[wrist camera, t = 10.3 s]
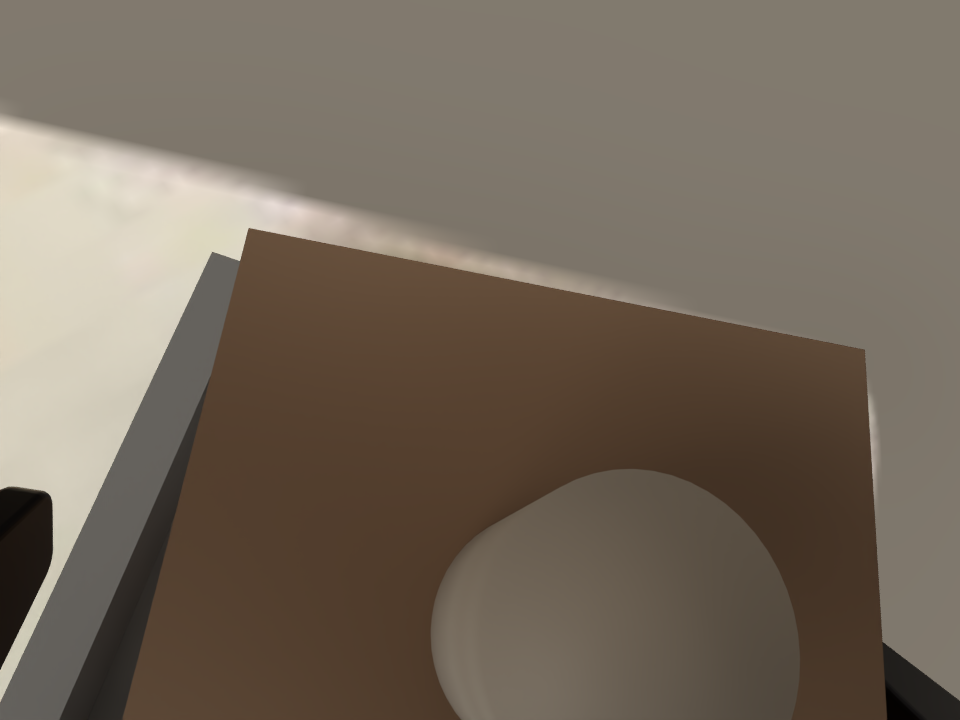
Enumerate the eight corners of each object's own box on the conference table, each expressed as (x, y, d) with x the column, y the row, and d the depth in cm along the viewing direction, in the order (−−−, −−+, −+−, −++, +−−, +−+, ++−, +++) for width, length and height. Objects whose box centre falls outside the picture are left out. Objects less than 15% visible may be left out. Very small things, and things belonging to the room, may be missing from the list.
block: (476, 750, 16) (1218, 1387, 3) (256, 726, 15) (-180, 1412, 2) (500, 531, 17) (1044, 261, 4) (301, 501, 17) (218, 77, 4)
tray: (573, 1008, 15) (627, 1093, 13) (-17, 853, 14) (-98, 911, 12) (676, 455, 20) (733, 428, 17) (229, 306, 19) (212, 251, 16)
